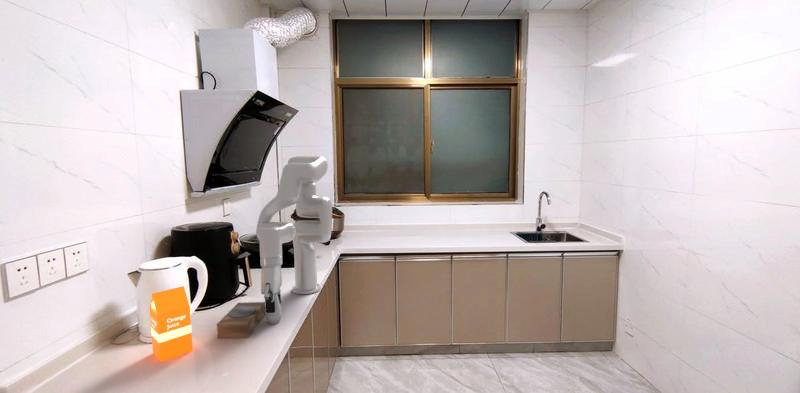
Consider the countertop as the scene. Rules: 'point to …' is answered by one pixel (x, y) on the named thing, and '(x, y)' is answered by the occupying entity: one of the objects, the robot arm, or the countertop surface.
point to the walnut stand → (241, 320)
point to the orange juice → (170, 324)
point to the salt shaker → (277, 315)
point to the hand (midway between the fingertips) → (273, 307)
